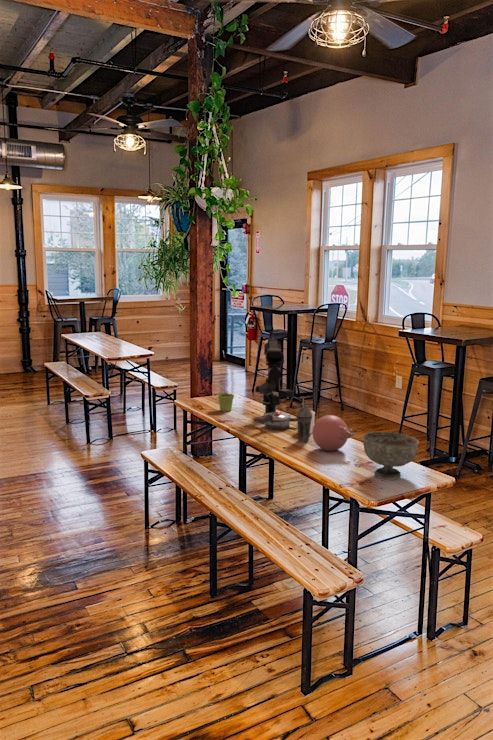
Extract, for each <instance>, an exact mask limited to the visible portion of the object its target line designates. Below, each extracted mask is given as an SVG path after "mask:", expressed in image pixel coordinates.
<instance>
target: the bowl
mask: <svg viewBox="0 0 493 740" xmlns="http://www.w3.org/2000/svg"><path fill="white" fill-rule="evenodd" d="M362 438H363V443H362V445H363V448H364V450H363V451H364V454H365V455H366V456H367V457H368V459H369V460H371V462H373V463H375V464H377V465H380V466H383V467H379V468H376V470H375V471H374V476H376V477H377V478H379V479H383V480H392V481H395V480H398V479H399V478H400V477H401V475H402V474H401V471H399V469H396V468H394V467H403V466H405V465H408V464H409V463H411V462H413V461H414V460H415V459H416V456H417V451H418V448H419V447H418V446H419V443H420V441H419V440H418V439H417V438H415V437H412V436H410V435H407V434H403V433H398V432H391V431H371V432H368V433H365V434H363V437H362Z"/></svg>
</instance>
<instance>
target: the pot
mask: <svg viewBox="0 0 493 740" xmlns="http://www.w3.org/2000/svg"><path fill="white" fill-rule="evenodd" d="M257 418H258V417H254V419H253V420H254V422H257ZM290 422H297V417H291V418H290V419H289V420H284V421H274V420H271V421H268V422H265V428H266V429H268V430H273V431H277V430H278V431H284V430H287V429H289V428H290V426H291V425H290V424H291V423H290Z"/></svg>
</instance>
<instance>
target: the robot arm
mask: <svg viewBox="0 0 493 740" xmlns="http://www.w3.org/2000/svg"><path fill="white" fill-rule="evenodd" d="M263 347H264V348H263V355H265V357H264V358H265V364H266V366H267V378H266V379H265V382H264V383H262V384H260V385H256V386H255V389H254V390H255V392H256V393H258V394H259V393H260V394H262V406H265V407H264V408H265V410H264V413H263V415H264V416H265V414H266V413H270V412H277V406H279V405H281V398H284V399H285V398H290V397H293V390H292V389H287V388H284V389H282V386H281V381H282V380H283V379H282V378H281V377H282V372H281V371H282V370H281V367H282V366H283V365H284V364H285V355H284V353H283V352H282V349H281V348H282V345H281V344H280V343H279V340H278V339H268V340H267V342H266V343H265V344H264V346H263Z"/></svg>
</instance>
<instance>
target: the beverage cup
mask: <svg viewBox="0 0 493 740" xmlns="http://www.w3.org/2000/svg"><path fill="white" fill-rule="evenodd" d="M311 411H312V410H310V409H309V408H308V407H305V398H302V407H301V408H299V409H298V410H297V412H296V417H295V418H297V421H296V422H297V424H296V425H297V437H298V442H301V443H307V442H309V439H310V434H309V433H310V425H311V420H312V413H311Z"/></svg>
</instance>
